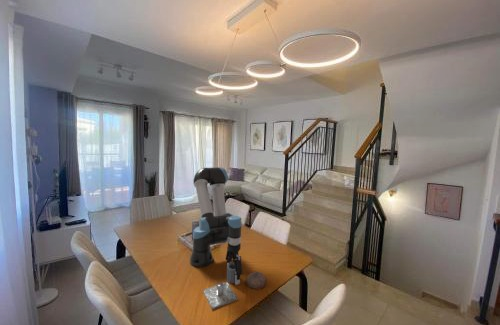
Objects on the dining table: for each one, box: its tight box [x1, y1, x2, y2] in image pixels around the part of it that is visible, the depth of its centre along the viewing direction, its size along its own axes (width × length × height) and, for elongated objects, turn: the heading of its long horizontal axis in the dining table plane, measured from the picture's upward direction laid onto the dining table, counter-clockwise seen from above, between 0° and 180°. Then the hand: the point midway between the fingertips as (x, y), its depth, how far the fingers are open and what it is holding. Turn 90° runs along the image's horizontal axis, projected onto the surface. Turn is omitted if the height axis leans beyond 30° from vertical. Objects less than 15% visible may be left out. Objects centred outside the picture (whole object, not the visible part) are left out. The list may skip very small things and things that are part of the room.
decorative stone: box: [245, 271, 267, 290], centre depth 121 cm, size 12×12×6 cm
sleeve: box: [226, 261, 236, 284], centre depth 122 cm, size 8×8×8 cm
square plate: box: [202, 281, 239, 310], centre depth 109 cm, size 14×14×6 cm
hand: (233, 278), depth 123 cm, fingers open, 11 cm apart
